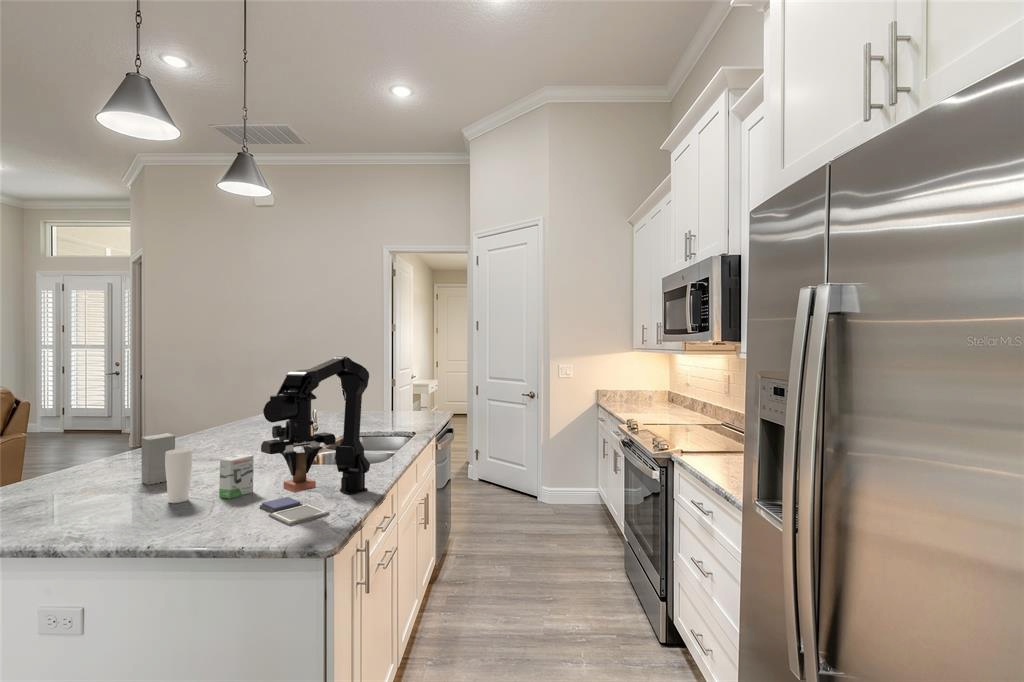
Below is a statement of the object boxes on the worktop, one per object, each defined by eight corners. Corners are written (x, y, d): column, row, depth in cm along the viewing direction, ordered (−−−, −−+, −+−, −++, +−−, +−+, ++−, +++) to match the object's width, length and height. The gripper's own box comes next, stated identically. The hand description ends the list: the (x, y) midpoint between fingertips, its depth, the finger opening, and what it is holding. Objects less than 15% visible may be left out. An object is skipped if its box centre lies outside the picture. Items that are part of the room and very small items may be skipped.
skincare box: (168, 477, 178) (168, 432, 178) (176, 480, 174) (177, 434, 174) (139, 482, 171) (140, 435, 171) (147, 486, 167) (148, 438, 167)
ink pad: (288, 501, 151) (288, 496, 151) (302, 506, 146) (302, 501, 146) (259, 508, 145) (259, 502, 145) (273, 514, 139) (273, 508, 139)
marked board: (308, 506, 147) (308, 503, 147) (329, 514, 139) (329, 511, 139) (268, 516, 138) (268, 513, 138) (288, 525, 131) (288, 522, 131)
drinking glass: (196, 499, 153) (197, 449, 153) (173, 505, 146) (174, 453, 147) (182, 496, 155) (183, 447, 156) (159, 502, 149) (160, 451, 149)
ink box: (230, 499, 153) (230, 460, 153) (218, 497, 155) (218, 458, 155) (254, 491, 161) (254, 454, 161) (242, 490, 163) (242, 453, 163)
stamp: (304, 484, 143) (304, 450, 143) (315, 488, 139) (315, 453, 139) (283, 488, 138) (283, 453, 138) (294, 492, 135) (294, 457, 135)
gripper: (316, 411, 151) (316, 463, 151) (252, 418, 137) (251, 476, 137) (337, 414, 144) (336, 469, 144) (271, 422, 130) (270, 483, 130)
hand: (299, 474), depth 139 cm, fingers closed on stamp, 3 cm apart
